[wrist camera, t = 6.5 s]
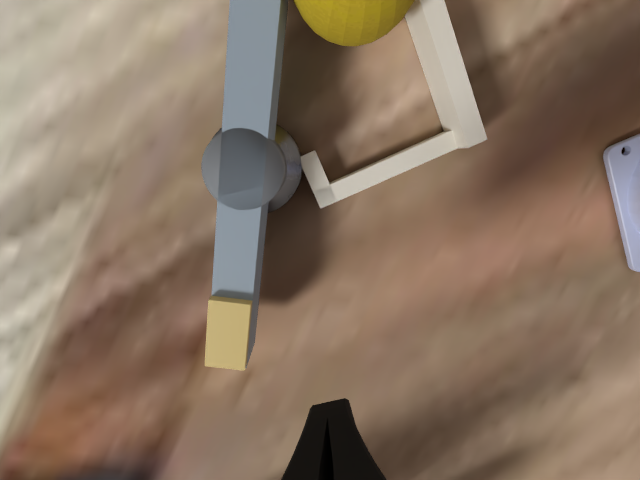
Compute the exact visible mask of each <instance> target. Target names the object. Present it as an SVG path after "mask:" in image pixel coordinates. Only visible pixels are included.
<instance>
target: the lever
mask: <svg viewBox="0 0 640 480" xmlns="http://www.w3.org/2000/svg"><path fill="white" fill-rule="evenodd" d="M287 10H288V0H230V7H229V24H228V40H227V56H226V72H225V88H224V104H223V121H222V132H221V133H220V134H218V135H217V136H216V137H214V138H213V139H212V140H211V142H210V143H209V144H208V146H207V147H206V149H205V152H204V154H203V158H202V176H203V180H204V182H205V185H206V187H207V189H208V190H209V192H210V193H211V194H212V195H213V197H214V198H215V199H217V200H218V201H217V218H216V234H215V250H214V266H213V282H212V296H211V297H210V299H209V300H208V317H207V334H206V351H205V366H209V367H218V368H227V369H236V370H244V371H245V368H246V367H247V364H248V361H249V358H250V355H251V352H252V349H253V346H254V343H255V335H256V325H257V315H258V305H259V294H260V284H261V274H262V264H263V254H264V244H265V233H266V223H267V213H268V203H269V201H270V200H271V199H272V198H273V197H274V196H275V195H276V194H277V193H278V192H279V191H280V189H281V188H282V186H283V184H284V182H285V180H286V176H287V161H286V157H285V155H284V152H283V150H282V149H281V147H280V146H279V145H278V143H277V142H276V141H275V132H276V122H277V112H278V101H279V91H280V81H281V71H282V61H283V51H284V40H285V30H286V20H287Z"/></svg>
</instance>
